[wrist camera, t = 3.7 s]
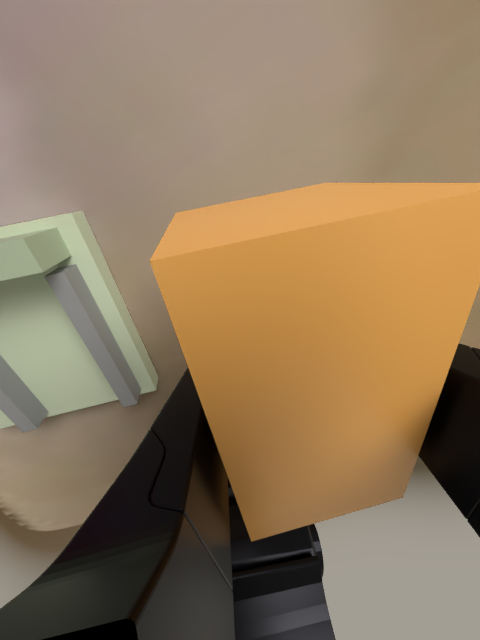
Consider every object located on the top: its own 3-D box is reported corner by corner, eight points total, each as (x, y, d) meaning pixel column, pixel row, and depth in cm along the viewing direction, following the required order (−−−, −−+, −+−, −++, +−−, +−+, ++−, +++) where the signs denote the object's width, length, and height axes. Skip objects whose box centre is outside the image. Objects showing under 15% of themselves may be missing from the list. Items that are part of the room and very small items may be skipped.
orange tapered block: (323, 396, 12) (396, 515, 8) (233, 419, 12) (256, 557, 7) (325, 183, 7) (515, 183, 3) (175, 212, 7) (149, 261, 3)
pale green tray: (158, 377, 20) (150, 422, 17) (10, 413, 20) (-34, 469, 16) (82, 210, 14) (40, 220, 10) (-144, 254, 13) (-283, 284, 9)
